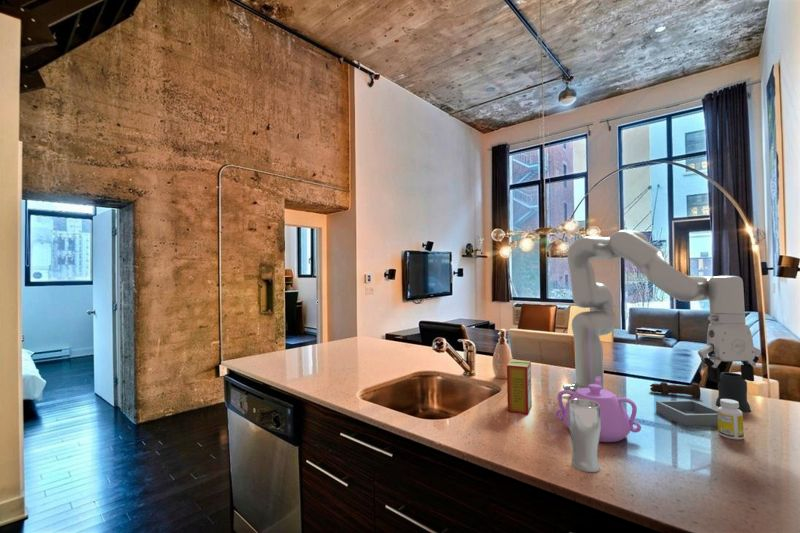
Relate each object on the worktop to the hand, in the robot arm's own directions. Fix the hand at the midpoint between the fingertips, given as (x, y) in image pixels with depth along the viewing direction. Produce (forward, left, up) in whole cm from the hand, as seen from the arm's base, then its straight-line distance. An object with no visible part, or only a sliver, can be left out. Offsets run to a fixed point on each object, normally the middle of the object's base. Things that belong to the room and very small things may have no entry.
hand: (731, 380), depth 106 cm
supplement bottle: (0, 0, -16) cm, 16 cm away
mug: (+22, +23, -16) cm, 36 cm away
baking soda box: (-51, +25, -16) cm, 59 cm away
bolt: (+12, +37, -16) cm, 42 cm away
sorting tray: (-1, +13, -16) cm, 21 cm away
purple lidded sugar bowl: (-35, +6, -16) cm, 39 cm away
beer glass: (-49, -14, -16) cm, 53 cm away
